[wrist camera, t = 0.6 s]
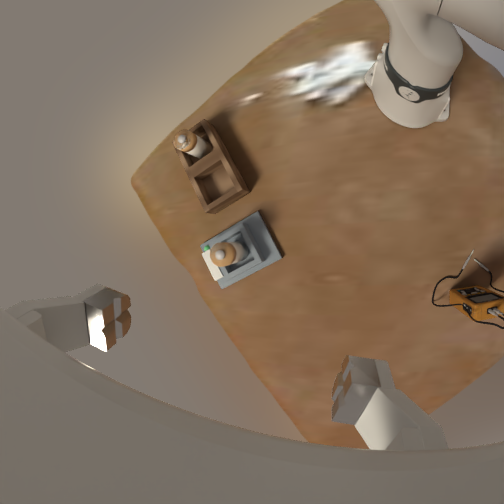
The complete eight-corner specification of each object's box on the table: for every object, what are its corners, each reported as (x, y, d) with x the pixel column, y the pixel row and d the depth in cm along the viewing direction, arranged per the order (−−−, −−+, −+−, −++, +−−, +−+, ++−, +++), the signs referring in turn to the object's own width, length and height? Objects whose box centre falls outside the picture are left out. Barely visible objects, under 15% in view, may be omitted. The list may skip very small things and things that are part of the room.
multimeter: (491, 246, 41) (547, 253, 22) (491, 295, 41) (543, 322, 23) (430, 253, 46) (473, 265, 27) (431, 305, 46) (470, 341, 27)
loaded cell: (200, 138, 58) (177, 126, 49) (215, 144, 57) (194, 131, 48) (192, 155, 58) (168, 145, 50) (206, 162, 57) (184, 151, 49)
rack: (183, 147, 60) (172, 142, 56) (213, 125, 58) (204, 118, 53) (215, 213, 59) (205, 212, 54) (250, 192, 56) (242, 189, 52)
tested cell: (234, 237, 57) (214, 238, 48) (252, 247, 56) (234, 249, 47) (225, 255, 57) (205, 259, 49) (243, 265, 56) (224, 271, 48)
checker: (202, 245, 60) (194, 246, 57) (258, 211, 56) (253, 210, 52) (223, 288, 59) (216, 291, 56) (282, 257, 55) (278, 259, 51)
